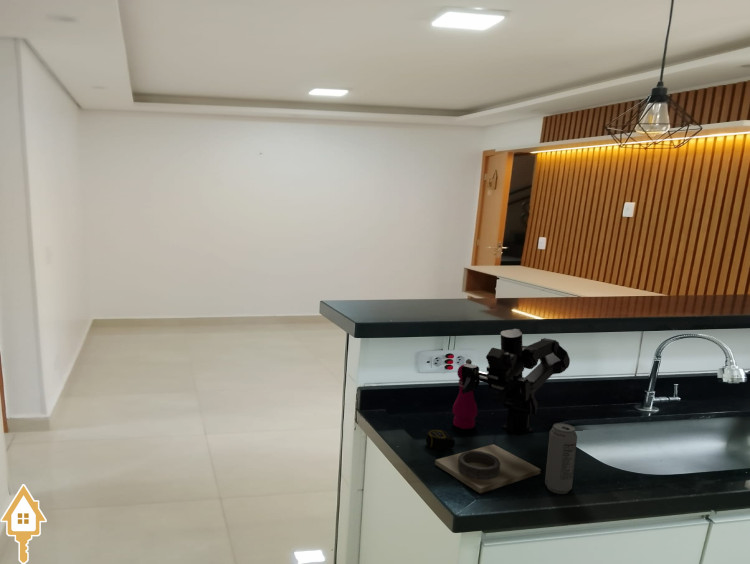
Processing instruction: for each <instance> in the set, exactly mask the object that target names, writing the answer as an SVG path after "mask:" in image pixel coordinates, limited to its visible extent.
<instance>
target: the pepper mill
mask: <svg viewBox="0 0 750 564" xmlns="http://www.w3.org/2000/svg"><path fill="white" fill-rule="evenodd" d="M466 363H468V364H472V360H471V359H470V358H468V359H466V360H465V363H463V364H461V365H460V366H459V367H458V369H457V372H456V373H457V377H458V378H459V379H458V383H457V384H458V386H459V389H458V390H459V391H458V395H457V397H456V399H455V401H454V403H453V406H452V414H453V415H454V417H453V425H454V427H456V428H458V427H459V429H463V430H469V429H473V428H475V425H476V420H475V418H476V417H477V415H478V407H477V402H476V401H475V396H474V395H475V394H474V391H475V390H473V391H470V392H467V393H462V389H463V386H464V385H463V384H462V367H463V366H464V365H465V364H466Z"/></svg>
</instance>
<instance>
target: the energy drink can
mask: <svg viewBox="0 0 750 564" xmlns="http://www.w3.org/2000/svg"><path fill="white" fill-rule="evenodd" d="M548 435H549V436H548V437H549V438H548V446H547V447H548V449H547V458H546V467H545V477H544V484H545V486H546V488H547V489H548V490H549V491H550V492H552V493H555V494H560V495H565V494H568V493H569V492H570V490H572V488H573V481H574V480H573V479H574V470H575V463H576V454H577V453H576V452H577V441H578V434H577V432H576V428H575V427H574V426H573V425H571V424H567V423H563V422H556V423H554V424H553V425H552V428H551V429H550V430H549V434H548Z"/></svg>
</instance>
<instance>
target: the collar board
mask: <svg viewBox="0 0 750 564" xmlns="http://www.w3.org/2000/svg"><path fill="white" fill-rule="evenodd" d="M434 462H435V463H434V465H436V466H437V467H438V468H440V469H441V470H442V471H445V472H446V473H448V474H450V475H451V476H453V478H455V479H457V480H458V481H460V482H462V483H463V484H464V485H466V486H468V488H469V487H470V488H471V489H472V490H474V491H475V492H477V493H479V494H483V493H485V492H489V491H492V490H495V489H498V488H501V487H504V486H507V485H510V484H513V483H517V482H519V481H522V480H526V479H529V478H532V477H534V476H538V475H541V468H539V467H537V466H536V465H533V464H532V463H529V462H528V461H526V460H524V459H521V458H520V457H519V456H517V455H514V454H512V453H511V452H509V451H508V450H505V449H503V448H501V447H499V446H497V445H495V444H493V443H492V444H489V445H486V446H481V447H478V448H474V449H470V450H467V451H464V452H460V453H456V454H453V455H452V454H451V455H449V456H445V457H441V458H438V459H435V461H434Z"/></svg>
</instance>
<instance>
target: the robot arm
mask: <svg viewBox="0 0 750 564" xmlns="http://www.w3.org/2000/svg"><path fill="white" fill-rule="evenodd" d="M485 359H486V361H487V364H488V366H486V372H483V371H480V367H479V366H478V365H475V364H472V363H471V364H468V363H466V362H465V363H464V364H465V365H464V366H463V367H462V384H463V385H464V386H463V389H462V393H467V392H470V391H473V390H474V391H476V389H477V388H478V387H479V385H480V383H481V382H482V383H486V384H488V388H489V389H492V390H496V391H499V393H498V394H497V395H496V396H495V397H494V398H493V399H494V401H493V402H494V403H498V404H499V403H502V408H504V409H508V410H507V414H506V424H505V425H504V424H503V425H502V428H503V429H505V430H507V431H510V432H511V433H513V434H515V435H517V436H521V435H525V434H527V433H532V432H534V429H533V428H531V427H530V425H531V423H530V422H531V415H536V414H537V410H538V402H537V400H536V397H535V393H536V391H538V390H539V389H540V388H541V387H542V386H543V385H544V384H545V383H546V382H547V381H548V380H549V378H551V377H552V376H553V375H557V374H562V373H564V372H565V371H566V370H567V369H568V368H569V366H570V362H571V358H570V356H569V353H568V351H567V350H565V349H564V347H562V346H561V345H560V343H559V341H557V340H556V339H552V338H551V339H550V338H547V337H544V338H541V339H540V340H538V341H537V342H534V343H532V344H529V345H523V332H522V330H521V329H519V328H513V329H506V330H502V331H501V332H500V348H498V347H497V348H496V347H490V350H489V351H488V353H487V354H486V356H485ZM538 362H540V363H539V364H538ZM525 369H528V370H532V371H530V372H529V373H528V374H527V375H526V376H525V377H523V372H524V371H525ZM474 391H473V392H474Z"/></svg>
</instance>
